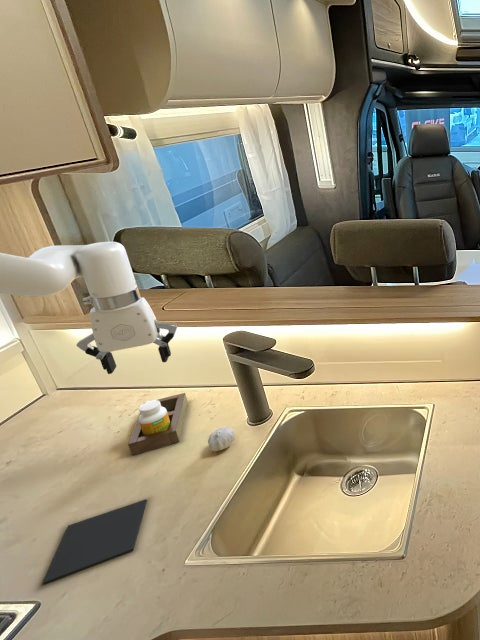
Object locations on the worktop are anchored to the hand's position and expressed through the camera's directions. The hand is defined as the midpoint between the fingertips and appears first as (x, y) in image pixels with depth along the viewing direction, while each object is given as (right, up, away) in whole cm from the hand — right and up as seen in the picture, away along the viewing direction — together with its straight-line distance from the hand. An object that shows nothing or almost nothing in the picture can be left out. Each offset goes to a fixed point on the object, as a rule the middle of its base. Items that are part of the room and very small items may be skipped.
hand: (139, 364), depth 95 cm
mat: (+7, -30, -16) cm, 34 cm away
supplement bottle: (-3, -21, +9) cm, 23 cm away
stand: (-5, -19, +12) cm, 23 cm away
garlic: (+15, -22, +6) cm, 27 cm away
